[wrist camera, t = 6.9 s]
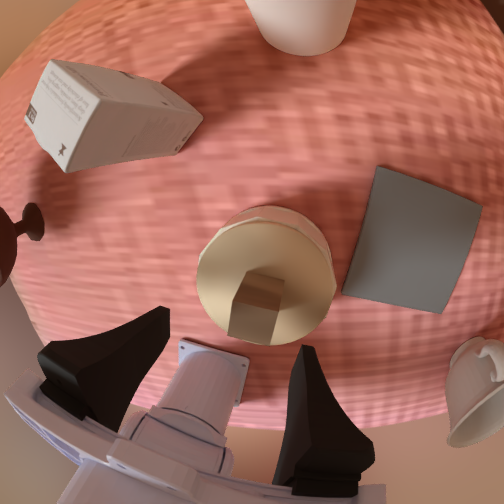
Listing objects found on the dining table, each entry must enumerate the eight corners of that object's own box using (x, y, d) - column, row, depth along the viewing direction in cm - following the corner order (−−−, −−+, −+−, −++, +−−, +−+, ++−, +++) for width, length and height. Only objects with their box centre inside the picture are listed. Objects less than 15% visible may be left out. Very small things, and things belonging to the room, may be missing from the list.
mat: (439, 311, 21) (441, 314, 21) (341, 291, 23) (341, 294, 22) (479, 205, 17) (482, 206, 17) (376, 165, 18) (378, 166, 18)
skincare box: (207, 116, 19) (107, 94, 8) (175, 158, 21) (66, 179, 10) (157, 80, 19) (51, 51, 8) (130, 120, 21) (20, 121, 9)
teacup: (503, 274, 18) (555, 326, 9) (502, 359, 22) (529, 409, 12) (414, 328, 23) (445, 404, 13) (431, 400, 26) (446, 459, 17)
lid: (311, 349, 21) (309, 391, 16) (197, 321, 22) (174, 357, 18) (348, 238, 17) (361, 268, 13) (206, 208, 18) (176, 227, 14)
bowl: (313, 325, 24) (313, 353, 21) (208, 300, 26) (193, 324, 22) (345, 221, 20) (353, 237, 17) (220, 194, 22) (202, 204, 18)
